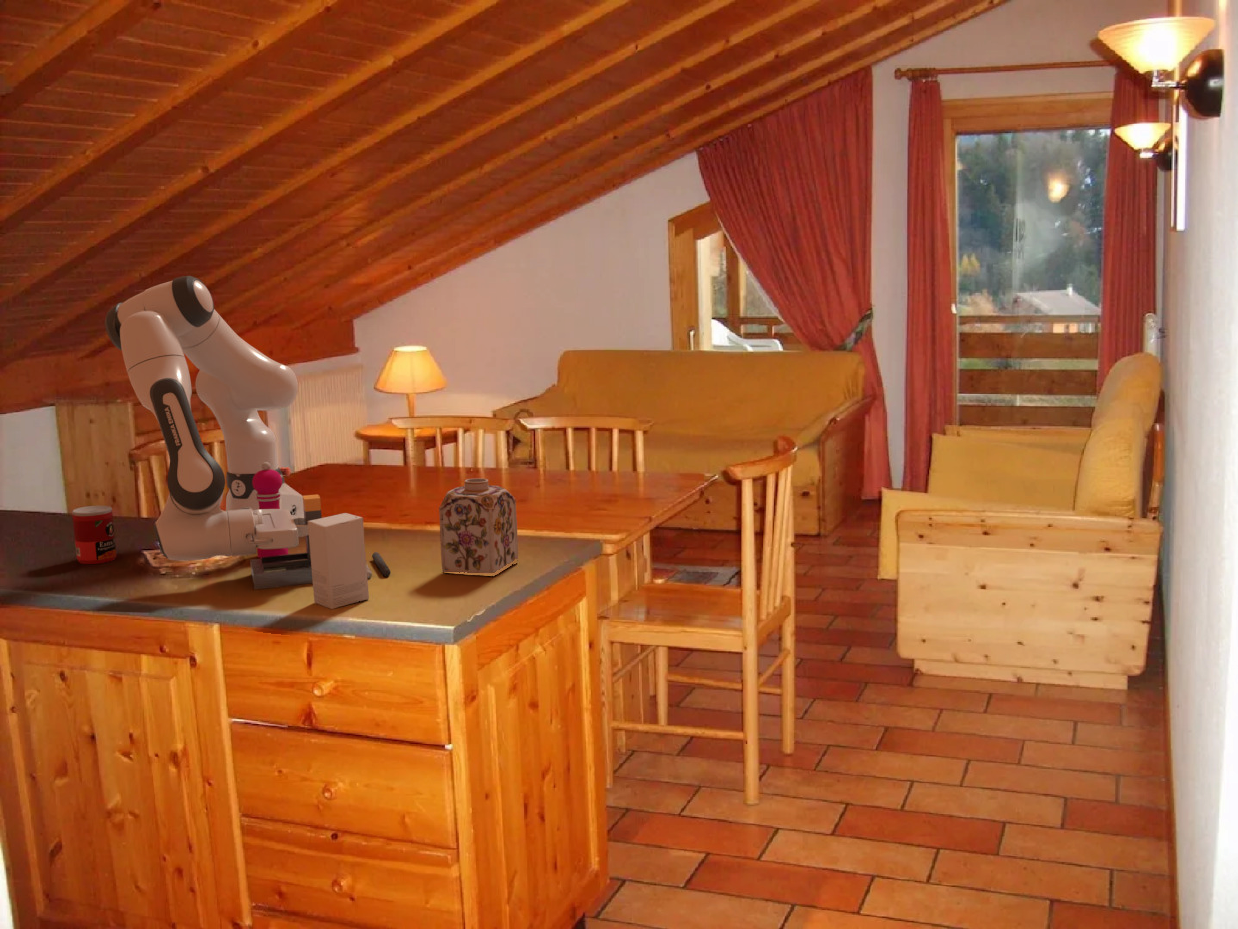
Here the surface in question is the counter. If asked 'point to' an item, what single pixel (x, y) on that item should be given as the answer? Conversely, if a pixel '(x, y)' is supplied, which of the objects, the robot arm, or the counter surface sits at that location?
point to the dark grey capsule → (379, 565)
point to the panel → (281, 570)
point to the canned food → (94, 534)
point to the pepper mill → (268, 499)
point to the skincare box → (338, 560)
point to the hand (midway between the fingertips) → (318, 524)
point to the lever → (311, 514)
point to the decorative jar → (478, 528)
